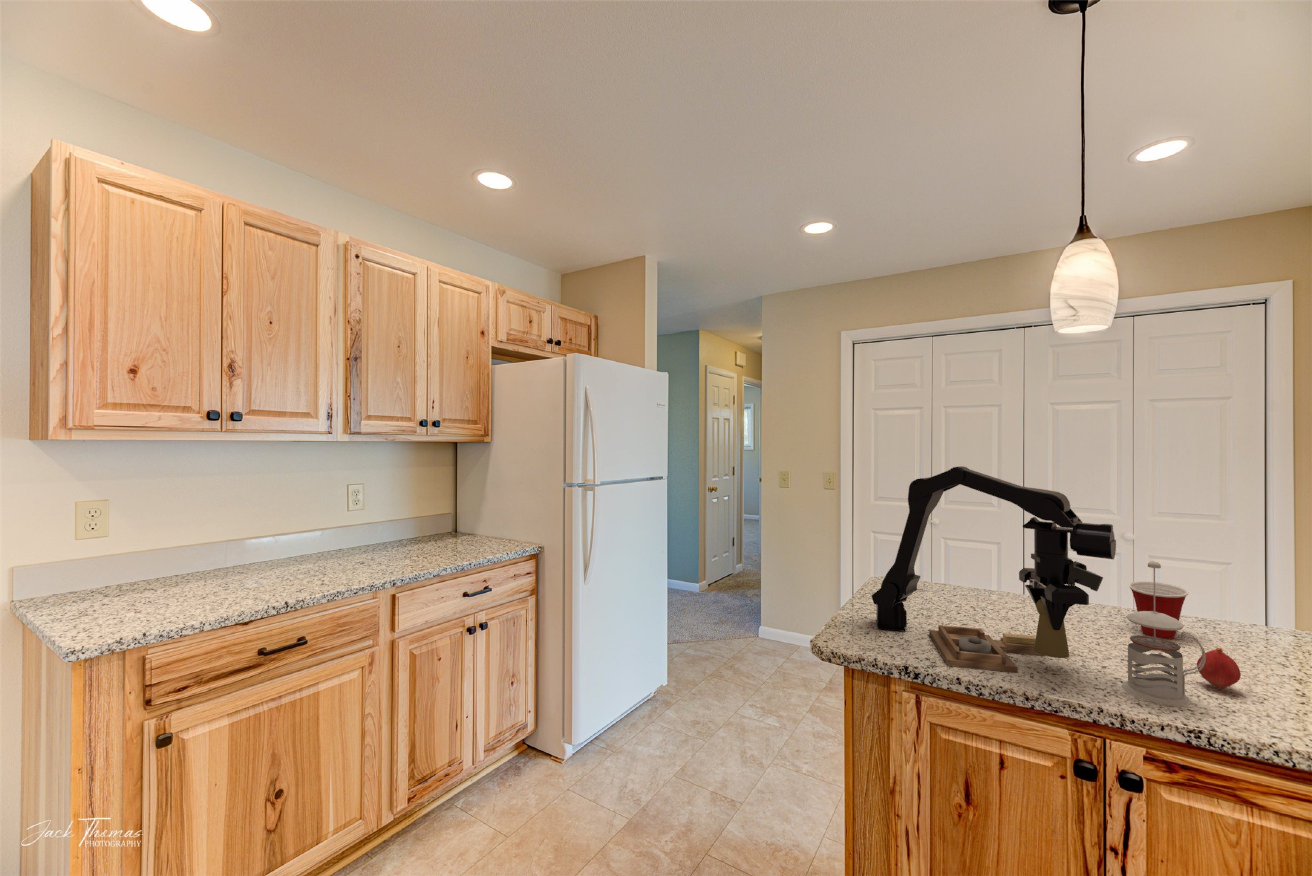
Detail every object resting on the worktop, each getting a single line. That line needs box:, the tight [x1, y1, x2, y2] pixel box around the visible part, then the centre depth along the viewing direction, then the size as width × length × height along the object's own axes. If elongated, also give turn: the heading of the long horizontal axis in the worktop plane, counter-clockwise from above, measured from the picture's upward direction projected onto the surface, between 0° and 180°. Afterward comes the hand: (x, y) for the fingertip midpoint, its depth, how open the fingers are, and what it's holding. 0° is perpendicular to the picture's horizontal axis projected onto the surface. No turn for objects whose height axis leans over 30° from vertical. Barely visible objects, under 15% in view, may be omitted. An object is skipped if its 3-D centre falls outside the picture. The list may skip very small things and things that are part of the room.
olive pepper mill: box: [1034, 599, 1070, 659], centre depth 113 cm, size 6×6×11 cm
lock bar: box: [1002, 632, 1036, 646], centre depth 123 cm, size 6×2×2 cm, turn 74°
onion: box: [1196, 647, 1242, 690], centre depth 104 cm, size 6×6×8 cm
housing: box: [928, 624, 1046, 674], centre depth 121 cm, size 22×19×4 cm
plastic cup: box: [1128, 581, 1189, 641], centre depth 132 cm, size 11×11×12 cm
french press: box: [1120, 560, 1206, 707], centre depth 102 cm, size 10×12×25 cm
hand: (1051, 625), depth 113 cm, fingers closed on olive pepper mill, 5 cm apart
